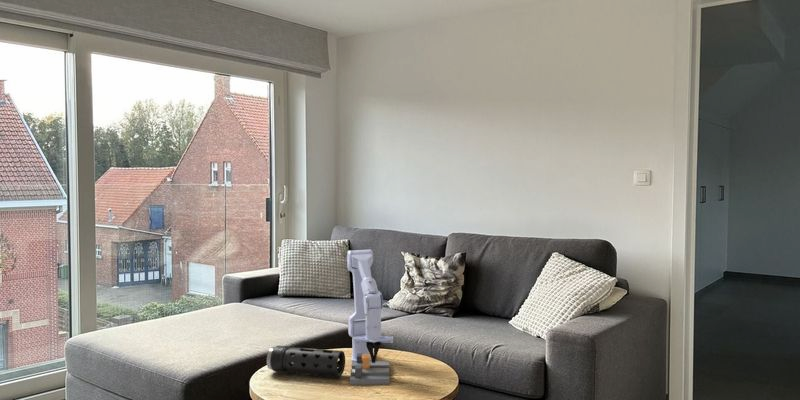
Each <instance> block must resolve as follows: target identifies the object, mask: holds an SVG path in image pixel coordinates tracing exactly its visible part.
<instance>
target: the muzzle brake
mask: <svg viewBox="0 0 800 400" xmlns="http://www.w3.org/2000/svg"><path fill="white" fill-rule="evenodd" d="M266 366H267V368H268V369H269V370H272V371H273V372H274V373H277V372H278V373H285V374H286V375H291V376H292V375H293V376H295V375H296V374H302V375H303V374H305V375H309V376H310V377H311V376H316V377H321V378H323V377H324V378H336V379H340V378H341V377H342V375H343V374H344V371H345V367H346V355H345V351H344V350H337V349H335V350H333V349H321V348H320V349H319V348H305V347H290V346H287V345H276V346H272V347H270V348H269V350H268V352H267V355H266Z"/></svg>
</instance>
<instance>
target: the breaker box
mask: <svg viewBox="0 0 800 400" xmlns="http://www.w3.org/2000/svg"><path fill="white" fill-rule="evenodd" d="M369 364H370V368H369V369H363V361H362V354H357V361H351V369H350V377H349V385H350V386H356V385H357V386H359V385H360V386H361V385H363V386H364V385H365V386H366V385H368V386H369V385H371V386H372V385H390V361H389V360H382V361H381V360H379V361H377V360H376V362H375V363H372V360H371V361H369Z"/></svg>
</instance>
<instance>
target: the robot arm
mask: <svg viewBox="0 0 800 400" xmlns="http://www.w3.org/2000/svg"><path fill="white" fill-rule="evenodd" d="M373 263H374V252H373V250H372V249H356V250H347V253H346V266H347V271H349V272H351V273H352V283H353V284H352V285H353V298H354V299H353V300H354V301H353V302H354V303H353V304H354V312H353V314H351V315H350V316H349V317H348V324H347V330H348V332H347V333H348V335H349V337H351V338H352V339H351V340H352V341H351V342H352V346H351V347H352V349H351V350H352V353H351V359H350V362H357V354H370V361H372V363H375V362H376V361H377V355H378V353H379V350H380V348H381V346H382V345H381V344H382V343H385V344H386V343H387V344H389V343H390V344H393V343H394V336H390V335H389V336H388V335H382V309H383V305H384V298H383V294H382V292H381V291H380V290H379V289H378V285H377V282H376V279H375V278H373V276H372V271H371V270H372V269H371V267H372V264H373Z"/></svg>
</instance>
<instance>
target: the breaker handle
mask: <svg viewBox="0 0 800 400" xmlns="http://www.w3.org/2000/svg"><path fill="white" fill-rule="evenodd" d="M362 361H363V369H369V368H370V364H369V361H370V354H362Z"/></svg>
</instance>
